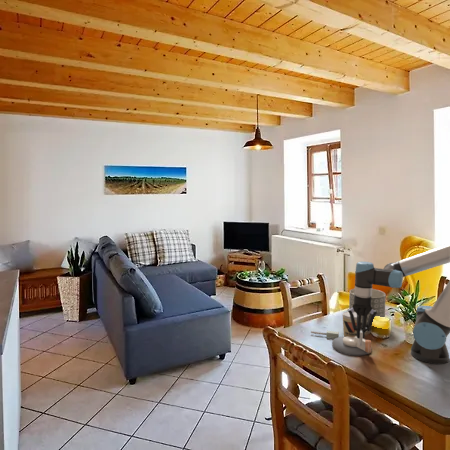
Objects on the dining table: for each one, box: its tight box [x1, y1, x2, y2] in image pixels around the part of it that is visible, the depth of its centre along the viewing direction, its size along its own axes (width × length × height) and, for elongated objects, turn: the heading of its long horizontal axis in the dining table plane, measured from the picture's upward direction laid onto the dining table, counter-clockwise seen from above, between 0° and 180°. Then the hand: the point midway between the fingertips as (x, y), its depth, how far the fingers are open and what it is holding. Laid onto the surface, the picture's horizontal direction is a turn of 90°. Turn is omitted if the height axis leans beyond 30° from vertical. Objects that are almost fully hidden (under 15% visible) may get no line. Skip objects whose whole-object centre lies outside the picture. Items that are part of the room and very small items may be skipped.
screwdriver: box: [310, 330, 340, 340], centre depth 186 cm, size 14×3×3 cm, turn 69°
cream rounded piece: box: [343, 336, 372, 354], centre depth 169 cm, size 15×8×5 cm, turn 26°
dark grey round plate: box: [331, 336, 372, 357], centre depth 173 cm, size 18×18×2 cm
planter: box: [348, 288, 387, 326], centre depth 202 cm, size 19×19×18 cm
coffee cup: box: [342, 311, 362, 337], centre depth 185 cm, size 9×9×12 cm
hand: (360, 344), depth 165 cm, fingers closed
